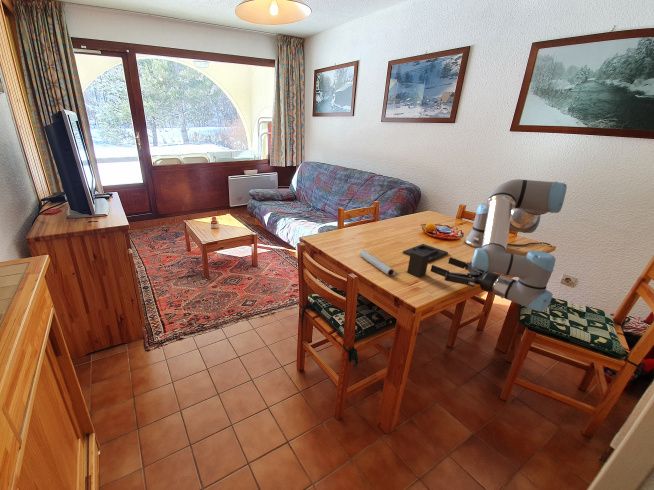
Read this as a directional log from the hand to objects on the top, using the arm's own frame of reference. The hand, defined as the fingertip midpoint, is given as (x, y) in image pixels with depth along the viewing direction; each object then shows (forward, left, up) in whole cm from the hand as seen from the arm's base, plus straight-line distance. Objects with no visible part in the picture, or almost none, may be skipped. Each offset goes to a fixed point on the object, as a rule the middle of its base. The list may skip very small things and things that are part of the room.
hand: (440, 264), depth 129 cm
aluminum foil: (+21, -16, -9) cm, 27 cm away
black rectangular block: (+6, -8, -8) cm, 13 cm away
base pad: (-7, -31, -8) cm, 33 cm away
